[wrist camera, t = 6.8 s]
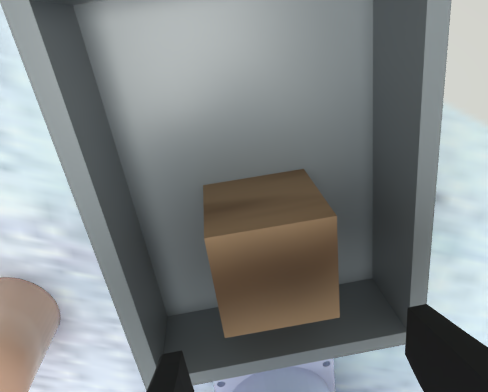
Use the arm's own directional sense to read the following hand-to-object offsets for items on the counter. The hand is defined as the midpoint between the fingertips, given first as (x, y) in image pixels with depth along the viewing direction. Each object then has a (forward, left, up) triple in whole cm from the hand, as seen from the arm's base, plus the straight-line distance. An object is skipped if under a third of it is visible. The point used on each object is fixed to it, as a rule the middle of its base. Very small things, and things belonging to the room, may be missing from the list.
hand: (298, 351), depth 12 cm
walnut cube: (0, 0, -8) cm, 9 cm away
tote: (+3, 0, -9) cm, 10 cm away
